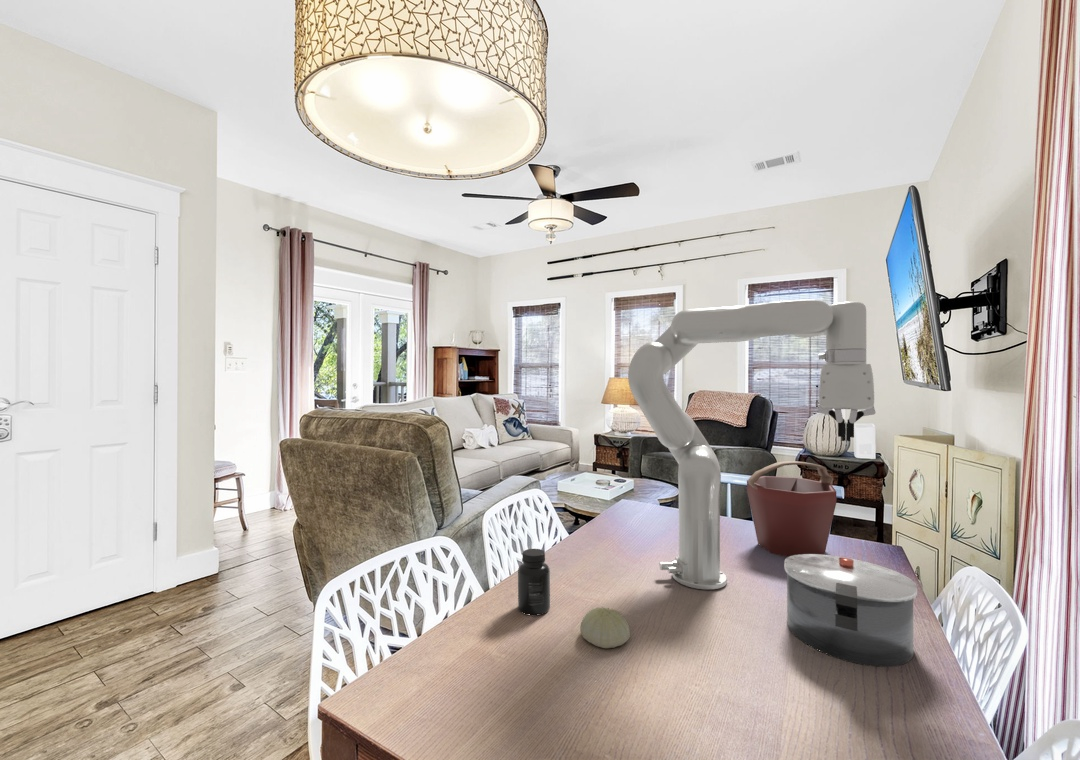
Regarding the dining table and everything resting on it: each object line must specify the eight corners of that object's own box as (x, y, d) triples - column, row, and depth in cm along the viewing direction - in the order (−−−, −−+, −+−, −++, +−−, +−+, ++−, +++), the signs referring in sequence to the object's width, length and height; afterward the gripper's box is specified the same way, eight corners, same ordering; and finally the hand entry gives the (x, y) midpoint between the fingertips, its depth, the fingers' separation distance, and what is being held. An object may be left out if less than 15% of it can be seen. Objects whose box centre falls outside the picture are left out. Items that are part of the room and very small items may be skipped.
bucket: (824, 539, 142) (824, 457, 142) (858, 567, 121) (858, 471, 121) (738, 533, 147) (738, 454, 147) (756, 560, 126) (756, 467, 126)
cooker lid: (929, 624, 71) (928, 608, 71) (775, 590, 82) (775, 576, 82) (909, 574, 92) (909, 562, 92) (789, 553, 103) (789, 542, 104)
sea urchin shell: (602, 649, 81) (584, 603, 86) (584, 664, 86) (568, 619, 91) (643, 635, 85) (624, 592, 90) (624, 650, 90) (607, 608, 95)
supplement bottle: (555, 604, 101) (555, 549, 101) (542, 619, 95) (541, 560, 95) (526, 598, 104) (526, 544, 104) (512, 612, 97) (512, 555, 98)
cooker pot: (925, 701, 70) (925, 634, 70) (777, 657, 81) (777, 600, 81) (906, 623, 93) (906, 573, 93) (792, 598, 104) (792, 553, 104)
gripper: (806, 358, 105) (806, 440, 105) (888, 356, 97) (889, 445, 97) (808, 359, 111) (808, 436, 111) (886, 358, 103) (886, 441, 103)
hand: (845, 440), depth 104 cm, fingers closed
